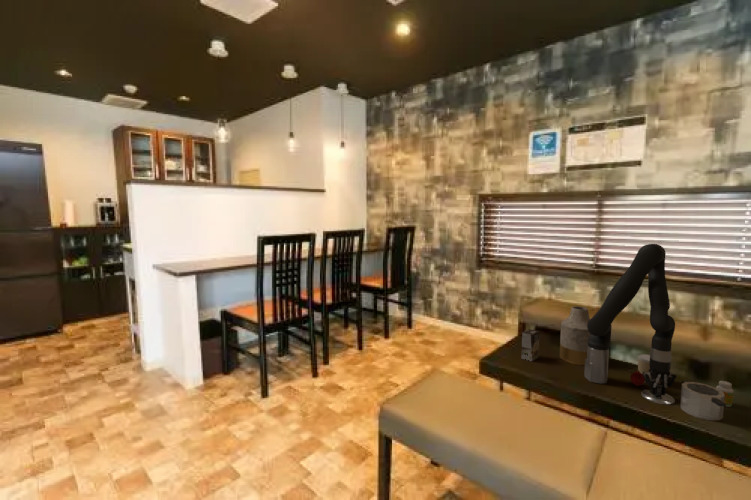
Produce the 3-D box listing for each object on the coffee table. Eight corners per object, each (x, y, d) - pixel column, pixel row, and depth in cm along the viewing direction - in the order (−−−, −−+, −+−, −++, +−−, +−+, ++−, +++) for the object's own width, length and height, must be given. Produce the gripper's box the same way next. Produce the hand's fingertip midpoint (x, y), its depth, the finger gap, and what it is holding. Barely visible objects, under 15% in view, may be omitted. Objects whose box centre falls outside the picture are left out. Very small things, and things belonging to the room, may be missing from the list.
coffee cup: (663, 385, 173) (665, 362, 172) (642, 384, 175) (643, 360, 174) (653, 377, 182) (654, 354, 181) (632, 375, 184) (634, 353, 183)
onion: (645, 389, 169) (646, 374, 168) (630, 387, 172) (631, 371, 171) (643, 384, 174) (644, 369, 173) (629, 382, 177) (630, 366, 176)
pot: (738, 425, 140) (740, 401, 139) (703, 424, 141) (705, 400, 140) (698, 400, 159) (700, 379, 158) (667, 399, 160) (669, 378, 159)
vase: (557, 360, 204) (559, 309, 200) (561, 350, 219) (563, 302, 215) (594, 368, 193) (597, 314, 190) (596, 356, 208) (599, 306, 205)
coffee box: (531, 362, 202) (532, 335, 201) (521, 358, 207) (521, 332, 205) (538, 357, 209) (539, 331, 207) (528, 354, 213) (528, 328, 212)
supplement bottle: (728, 408, 153) (730, 386, 152) (712, 402, 158) (714, 381, 157) (734, 405, 155) (736, 384, 154) (718, 399, 160) (720, 379, 159)
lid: (652, 404, 157) (653, 389, 156) (635, 390, 168) (636, 377, 168) (681, 405, 156) (682, 390, 155) (661, 391, 168) (662, 377, 167)
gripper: (649, 361, 157) (647, 398, 159) (683, 362, 156) (680, 398, 158) (638, 354, 164) (636, 389, 166) (670, 355, 163) (667, 390, 165)
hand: (657, 394), depth 162 cm, fingers closed on lid, 3 cm apart
